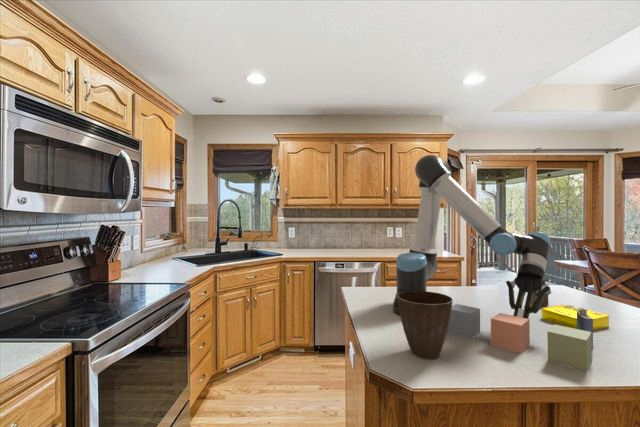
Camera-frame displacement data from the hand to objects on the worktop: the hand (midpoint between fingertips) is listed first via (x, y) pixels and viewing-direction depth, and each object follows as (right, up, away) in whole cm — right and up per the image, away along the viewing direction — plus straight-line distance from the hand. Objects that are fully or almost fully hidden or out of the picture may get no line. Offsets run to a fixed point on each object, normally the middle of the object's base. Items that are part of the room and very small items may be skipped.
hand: (518, 328), depth 96 cm
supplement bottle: (+35, -4, +38) cm, 52 cm away
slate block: (-14, -4, +7) cm, 16 cm away
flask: (+18, -4, -3) cm, 19 cm away
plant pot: (-33, -4, -9) cm, 34 cm away
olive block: (+4, -3, -14) cm, 15 cm away
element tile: (+31, -4, +16) cm, 35 cm away
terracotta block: (-5, -4, -4) cm, 7 cm away
